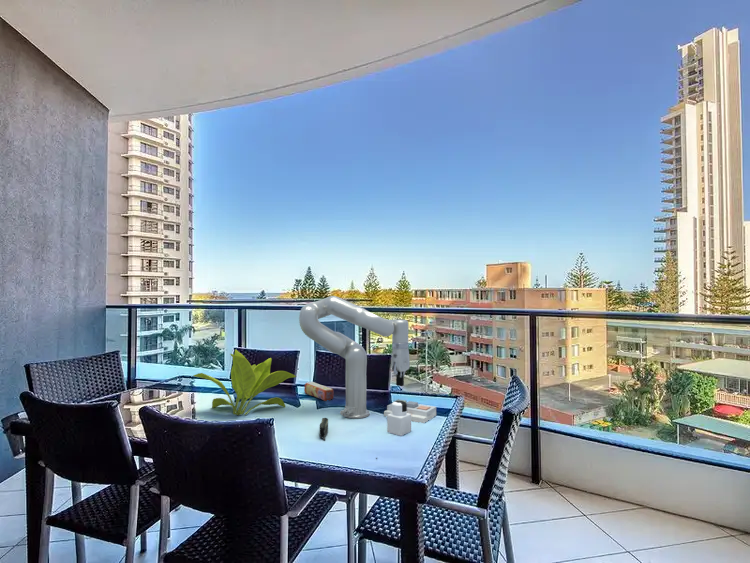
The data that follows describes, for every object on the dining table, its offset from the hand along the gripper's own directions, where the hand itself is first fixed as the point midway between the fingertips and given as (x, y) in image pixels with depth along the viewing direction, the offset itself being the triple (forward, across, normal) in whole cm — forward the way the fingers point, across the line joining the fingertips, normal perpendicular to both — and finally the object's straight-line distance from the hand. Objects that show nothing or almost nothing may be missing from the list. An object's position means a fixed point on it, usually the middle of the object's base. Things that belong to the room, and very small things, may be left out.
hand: (399, 385), depth 189 cm
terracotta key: (+10, 0, -12) cm, 16 cm away
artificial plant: (+14, -36, +63) cm, 74 cm away
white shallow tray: (+13, -1, -6) cm, 14 cm away
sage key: (+9, 0, 0) cm, 9 cm away
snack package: (+14, +3, +52) cm, 53 cm away
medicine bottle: (+13, -23, -12) cm, 29 cm away
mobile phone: (+13, -41, +12) cm, 45 cm away
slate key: (+9, 0, -6) cm, 11 cm away
